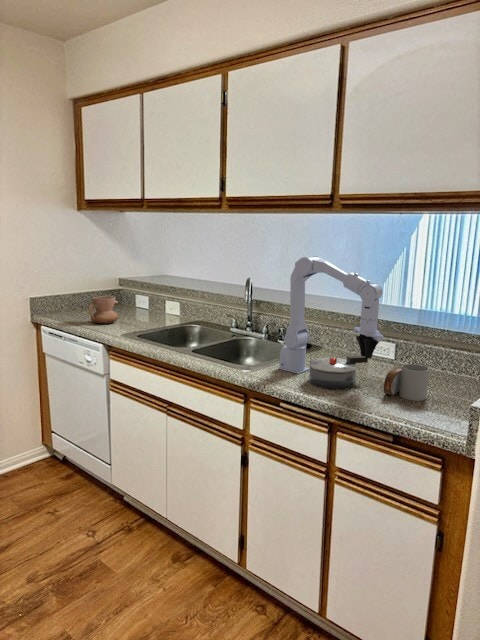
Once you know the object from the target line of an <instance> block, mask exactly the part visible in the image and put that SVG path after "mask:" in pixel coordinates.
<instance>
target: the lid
mask: <svg viewBox="0 0 480 640" xmlns="http://www.w3.org/2000/svg"><path fill="white" fill-rule="evenodd" d="M368 360H369V358H365V356H361V355H349V356H348V355H347V356H346V358H340V357H333V356H331V357H329V356H327V357H326V356H325V357H316V358H313V359H312V358H311V360H310V361H309V368H310V367H312V368H313V369H316V370H319V371H323V372H329V373H348V372H353V371H355V370H357V368H358V366H357V364H364V363H368Z"/></svg>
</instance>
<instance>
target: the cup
mask: <svg viewBox="0 0 480 640" xmlns="http://www.w3.org/2000/svg"><path fill="white" fill-rule="evenodd" d="M401 367H402V372H401V383H400V392H399V397H400V398H402V399H405V400H409V401H412V402H413V401H415V402H422V401H425V400H426V399H427V394H428V393H427V392H428V382H429V375H430V374H429V373H430V368H429V367H428V366H425V365H421V364H418V363H417V364H415V363H405V364H403V365H402V366H401Z"/></svg>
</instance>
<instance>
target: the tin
mask: <svg viewBox="0 0 480 640" xmlns="http://www.w3.org/2000/svg"><path fill="white" fill-rule="evenodd" d="M401 372H402V366H401V365H398V366H396V367H394V368H392V369H390V370H389V371H388V372H387V374H386V376H385V379H384V382H383V394H385V395H389V396H395V395H397V394H398V393H400V383H401Z"/></svg>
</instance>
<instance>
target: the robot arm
mask: <svg viewBox="0 0 480 640" xmlns="http://www.w3.org/2000/svg"><path fill="white" fill-rule="evenodd" d="M319 273H322V274H323V273H324V274H326V275H327V276H330V277H332V278H333V279H335V280H338V281H339V282H341V283H342V284H343V285H342V286H343V287H344V288H345V289H347V290H349V291H351V292H352V293H353V294H355V295H358V296H359V298H360V299H361V309H360V310H361V311H360V321H359V322H360V323H359V324H360V325H359V326H354V327H353V333H355V334H359V335H357V336H356V337H355V339H356V340H357V344H358V345H359V351H360V356H365V358H368V359H372V357H373V354H374V351H375V349H376V347H377V346H378V344H379V343H380V342H384V338H385V337H384V335H383V334H381V333H380V330H378V321H379V313H380V312H379V309H380V298H381V297H383V288H382V286H381V285H379V284H378V283H377V282H372V283H371V280H369V279H365V278H363V277H361V276H360V274H359V273H357V272H350V273H347V272H345V271H344V270H341V269H340V268H338V267H337V266H336V265H334V264H332V263H331V262H329V261H327V260H326V259H325V258H322V257H320V256H316V255H315V256H308V257H307V256H303V257H301V258H299V259H298V260H297V261H295V262H294V268H293V270H292V273H291V275H290V283H289V285H290V294H289V295H290V300H289V301H290V303H289V305H290V306H289V307H290V309H289V312H290V314H289V316H290V317H289V318H290V320H289V321H290V322H289V324H288V326H287V327H286V329H285V330H286V331H285V335H284V337H283V343H284V345H283V346H282V347H281V349H280V352H279V366H278V367H277V368H278V370H282V371H286V372H290V373H294V374H298V375H300V374H302V373H304V372H307V371H310V367H306V358H307V357H306V356H307V344H308V343H309V342H310V338H311V337H310V336H311V335H310V333H309V328H308V325H307V324H306V323H305V321H306V319H305V318H306V315H305V314H306V312H305V311H306V308H305V307H306V281H308V280H309V279H310V278H311V277H312V276H314V275H316V274H319Z"/></svg>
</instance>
